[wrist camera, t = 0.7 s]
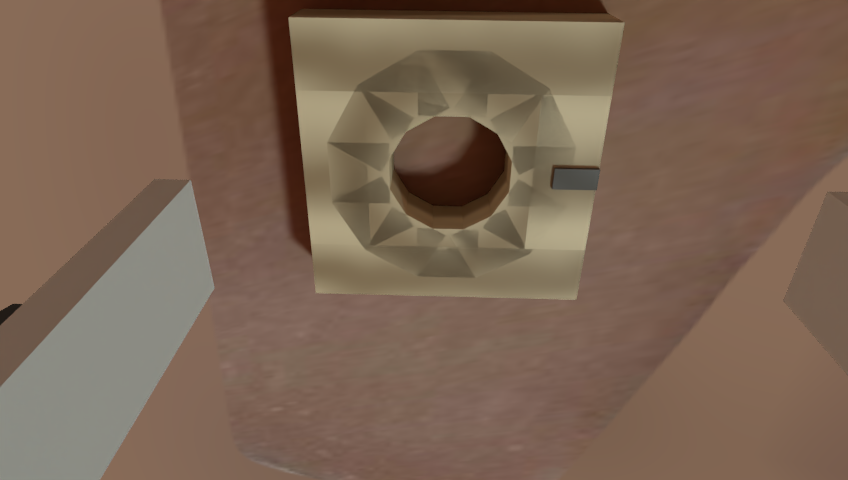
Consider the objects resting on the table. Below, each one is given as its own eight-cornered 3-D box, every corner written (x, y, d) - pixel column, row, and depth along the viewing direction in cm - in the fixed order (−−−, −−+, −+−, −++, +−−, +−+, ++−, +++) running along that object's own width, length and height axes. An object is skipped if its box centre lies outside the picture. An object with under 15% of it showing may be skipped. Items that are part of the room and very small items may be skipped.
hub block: (301, 8, 30) (287, 18, 27) (608, 13, 29) (625, 23, 27) (324, 267, 38) (315, 294, 35) (566, 273, 37) (576, 301, 35)
